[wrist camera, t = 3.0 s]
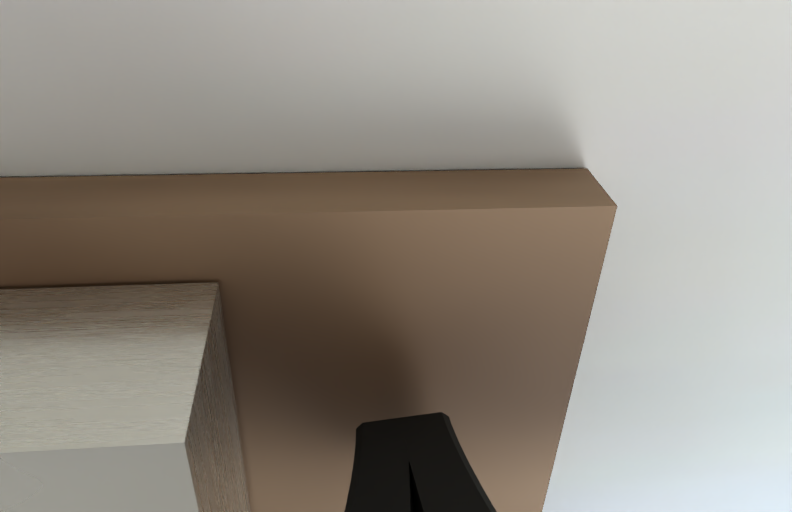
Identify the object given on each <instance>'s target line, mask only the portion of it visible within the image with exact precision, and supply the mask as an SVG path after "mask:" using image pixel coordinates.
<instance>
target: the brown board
mask: <svg viewBox="0 0 792 512" xmlns="http://www.w3.org/2000/svg"><path fill="white" fill-rule="evenodd" d="M616 209H617V205H616V204H615V203H614V201H613V200H612V199H611V198H610V196H609V195H608V194H607V193H606V191H605V190H604V189H603V188H602V186H601V185H600V184H599V183H598V181H597V180H596V179H595V178H594V176H593V175H592V174H591V173H590V171H589V170H588V169H587V168H584V169H519V170H454V171H390V172H325V173H260V174H196V175H131V176H67V177H2V178H0V289H29V288H60V287H91V286H121V285H152V284H183V283H214V282H218V285H219V292H220V299H221V306H222V313H223V320H224V327H225V334H226V341H227V349H228V356H229V363H230V370H231V377H232V384H233V391H234V398H235V406H236V413H237V420H238V427H239V434H240V441H241V448H242V455H243V462H244V470H245V477H246V484H247V491H248V498H249V505H250V512H345V507H346V502H347V497H348V492H349V487H350V482H351V476H352V470H353V462H354V454H355V443H356V428H357V427H358V426H360V425H361V424H362V423H364V422H371V421H378V420H386V419H393V418H400V417H408V416H415V415H422V414H430V413H437V412H442V413H444V414H446V415H447V416H449V418H450V421H451V424H452V427H453V429H454V431H455V434H456V436H457V438H458V441H459V443H460V445H461V447H462V449H463V451H464V453H465V455H466V457H467V459H468V461H469V463H470V465H471V467H472V469H473V471H474V473H475V475H476V476H477V478H478V480H479V482H480V484H481V486H482V488H483V489H484V491H485V493H486V494H487V496H488V498H489V500H490V501H491V503H492V505H493V506H494V508H495V510H496V511H497V512H542V509H543V505H544V501H545V497H546V493H547V489H548V484H549V480H550V476H551V472H552V468H553V464H554V460H555V456H556V452H557V448H558V444H559V440H560V436H561V432H562V428H563V424H564V420H565V416H566V412H567V407H568V403H569V399H570V395H571V391H572V387H573V383H574V379H575V375H576V371H577V367H578V363H579V359H580V355H581V351H582V347H583V343H584V339H585V334H586V330H587V326H588V322H589V318H590V314H591V310H592V306H593V302H594V298H595V294H596V290H597V286H598V282H599V278H600V274H601V270H602V266H603V261H604V257H605V253H606V249H607V245H608V241H609V237H610V233H611V229H612V225H613V221H614V217H615V213H616Z"/></svg>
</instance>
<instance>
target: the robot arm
mask: <svg viewBox="0 0 792 512" xmlns="http://www.w3.org/2000/svg"><path fill="white" fill-rule="evenodd" d="M345 512H497V511H496V510H495V508H494V506H493V505H492V503H491V501H490V500H489V498H488V496H487V494H486V493H485V491H484V489H483V488H482V486H481V484H480V482H479V480H478V478H477V476H476V475H475V473H474V471H473V469H472V467H471V465H470V463H469V461H468V459H467V457H466V455H465V453H464V451H463V449H462V447H461V445H460V443H459V441H458V438H457V436H456V434H455V431H454V429H453V427H452V424H451V421H450V418H449V416H447V415H446V414H444V413H442V412H437V413H430V414H422V415H415V416H408V417H400V418H393V419H386V420H378V421H371V422H364V423H362V424H361V425H360V426H358V427H357V428H356V443H355V454H354V462H353V470H352V476H351V482H350V487H349V492H348V497H347V502H346V507H345Z"/></svg>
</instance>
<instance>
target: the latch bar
mask: <svg viewBox="0 0 792 512" xmlns="http://www.w3.org/2000/svg"><path fill="white" fill-rule="evenodd" d="M0 512H250V505H249V498H248V491H247V484H246V477H245V470H244V462H243V455H242V448H241V441H240V434H239V427H238V420H237V413H236V406H235V398H234V391H233V384H232V377H231V370H230V363H229V356H228V349H227V341H226V334H225V327H224V320H223V313H222V306H221V299H220V292H219V285H218V282H214V283H183V284H152V285H121V286H91V287H60V288H29V289H0Z"/></svg>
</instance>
